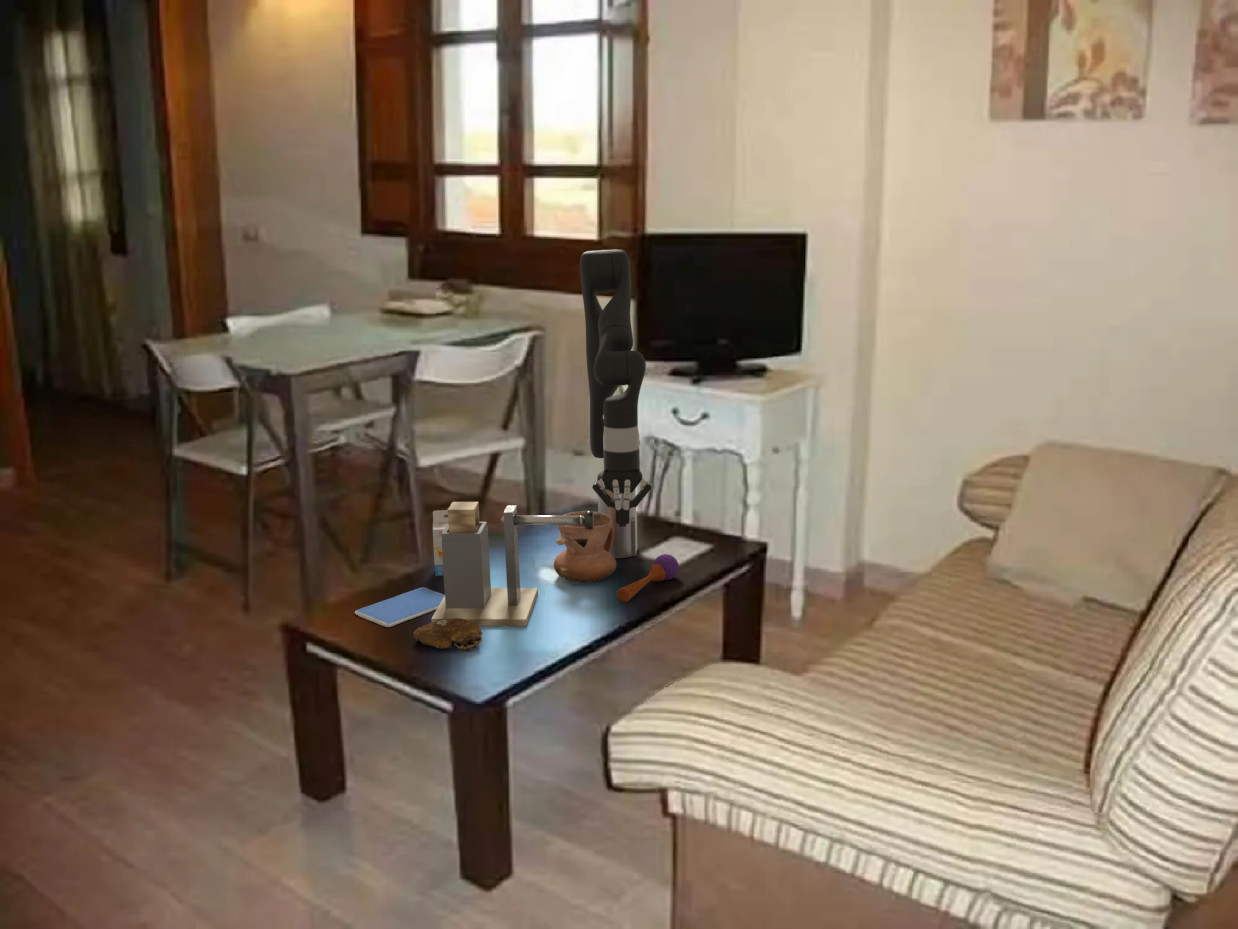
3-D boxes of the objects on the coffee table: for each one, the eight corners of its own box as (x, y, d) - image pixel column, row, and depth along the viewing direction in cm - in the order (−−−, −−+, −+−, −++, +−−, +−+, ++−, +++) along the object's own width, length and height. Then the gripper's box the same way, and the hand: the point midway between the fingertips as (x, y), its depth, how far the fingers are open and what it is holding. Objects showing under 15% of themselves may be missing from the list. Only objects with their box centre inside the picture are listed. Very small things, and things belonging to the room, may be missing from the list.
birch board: (537, 594, 266) (537, 588, 265) (526, 626, 248) (526, 619, 248) (449, 593, 267) (449, 587, 267) (431, 625, 250) (431, 618, 249)
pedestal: (491, 594, 262) (487, 521, 258) (484, 608, 254) (480, 533, 250) (453, 593, 263) (449, 521, 259) (445, 608, 255) (441, 533, 250)
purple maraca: (609, 582, 261) (659, 550, 276) (615, 608, 263) (665, 574, 278) (630, 583, 258) (680, 550, 273) (636, 608, 259) (686, 574, 274)
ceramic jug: (581, 594, 265) (581, 533, 262) (537, 578, 275) (536, 520, 271) (635, 574, 278) (636, 515, 274) (591, 559, 288) (591, 503, 284)
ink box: (435, 577, 278) (431, 517, 274) (435, 569, 283) (431, 510, 279) (471, 574, 279) (468, 514, 275) (471, 567, 284) (467, 508, 280)
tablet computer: (423, 590, 271) (422, 585, 271) (459, 603, 263) (459, 598, 263) (353, 616, 257) (352, 610, 257) (389, 630, 249) (388, 625, 249)
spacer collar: (479, 530, 257) (478, 501, 255) (475, 538, 252) (473, 509, 250) (454, 530, 257) (452, 501, 256) (449, 538, 252) (447, 509, 250)
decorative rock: (499, 641, 243) (440, 630, 250) (498, 621, 242) (439, 611, 249) (466, 659, 233) (406, 647, 240) (465, 639, 232) (405, 628, 240)
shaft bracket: (520, 597, 260) (516, 505, 255) (517, 605, 255) (512, 512, 250) (511, 597, 260) (507, 505, 255) (508, 605, 256) (503, 512, 250)
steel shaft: (593, 526, 254) (593, 508, 253) (592, 532, 250) (591, 514, 249) (503, 526, 256) (502, 508, 255) (500, 532, 252) (499, 514, 251)
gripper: (587, 450, 244) (590, 531, 248) (652, 450, 243) (653, 531, 248) (591, 442, 251) (593, 520, 256) (653, 441, 250) (654, 520, 255)
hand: (623, 525), depth 252 cm, fingers closed
